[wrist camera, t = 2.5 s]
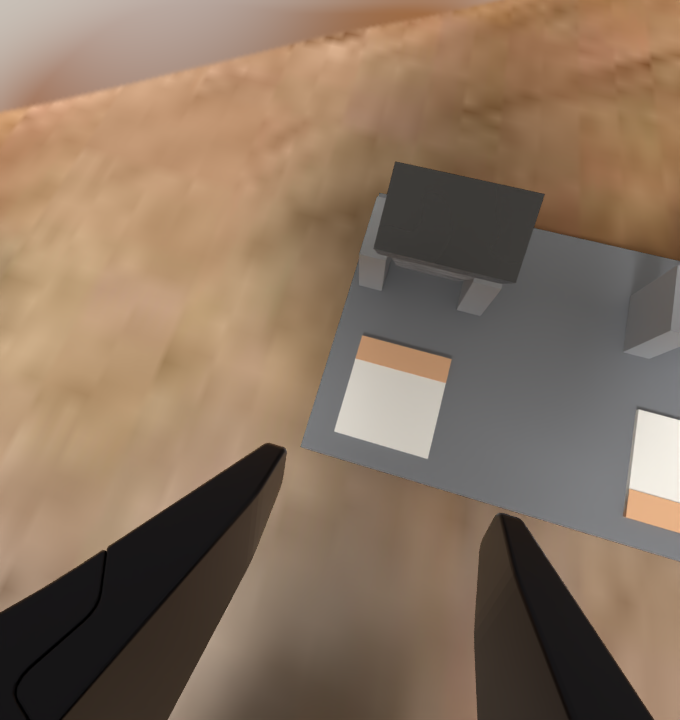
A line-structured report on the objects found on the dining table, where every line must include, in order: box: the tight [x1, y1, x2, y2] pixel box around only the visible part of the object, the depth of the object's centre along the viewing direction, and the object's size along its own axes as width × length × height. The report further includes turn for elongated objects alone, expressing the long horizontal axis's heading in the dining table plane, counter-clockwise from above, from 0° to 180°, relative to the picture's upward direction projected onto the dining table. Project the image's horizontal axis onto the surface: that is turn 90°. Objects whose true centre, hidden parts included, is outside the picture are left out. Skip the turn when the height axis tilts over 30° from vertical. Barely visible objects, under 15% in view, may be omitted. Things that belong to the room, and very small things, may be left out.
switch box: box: [301, 193, 680, 562], centre depth 19 cm, size 14×20×4 cm
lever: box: [373, 162, 545, 284], centre depth 15 cm, size 2×3×11 cm, turn 74°
